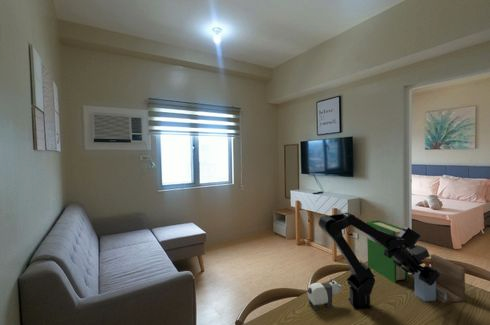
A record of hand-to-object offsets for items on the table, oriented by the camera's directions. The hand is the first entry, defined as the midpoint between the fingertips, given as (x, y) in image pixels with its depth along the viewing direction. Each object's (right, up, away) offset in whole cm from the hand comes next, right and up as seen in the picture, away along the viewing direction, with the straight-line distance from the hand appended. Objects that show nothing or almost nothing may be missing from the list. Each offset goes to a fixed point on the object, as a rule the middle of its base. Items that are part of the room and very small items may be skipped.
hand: (427, 279), depth 101 cm
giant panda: (-43, -9, -2) cm, 44 cm away
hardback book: (-5, -7, +21) cm, 23 cm away
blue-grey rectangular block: (-1, -7, 0) cm, 7 cm away
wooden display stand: (+7, -7, +3) cm, 10 cm away
